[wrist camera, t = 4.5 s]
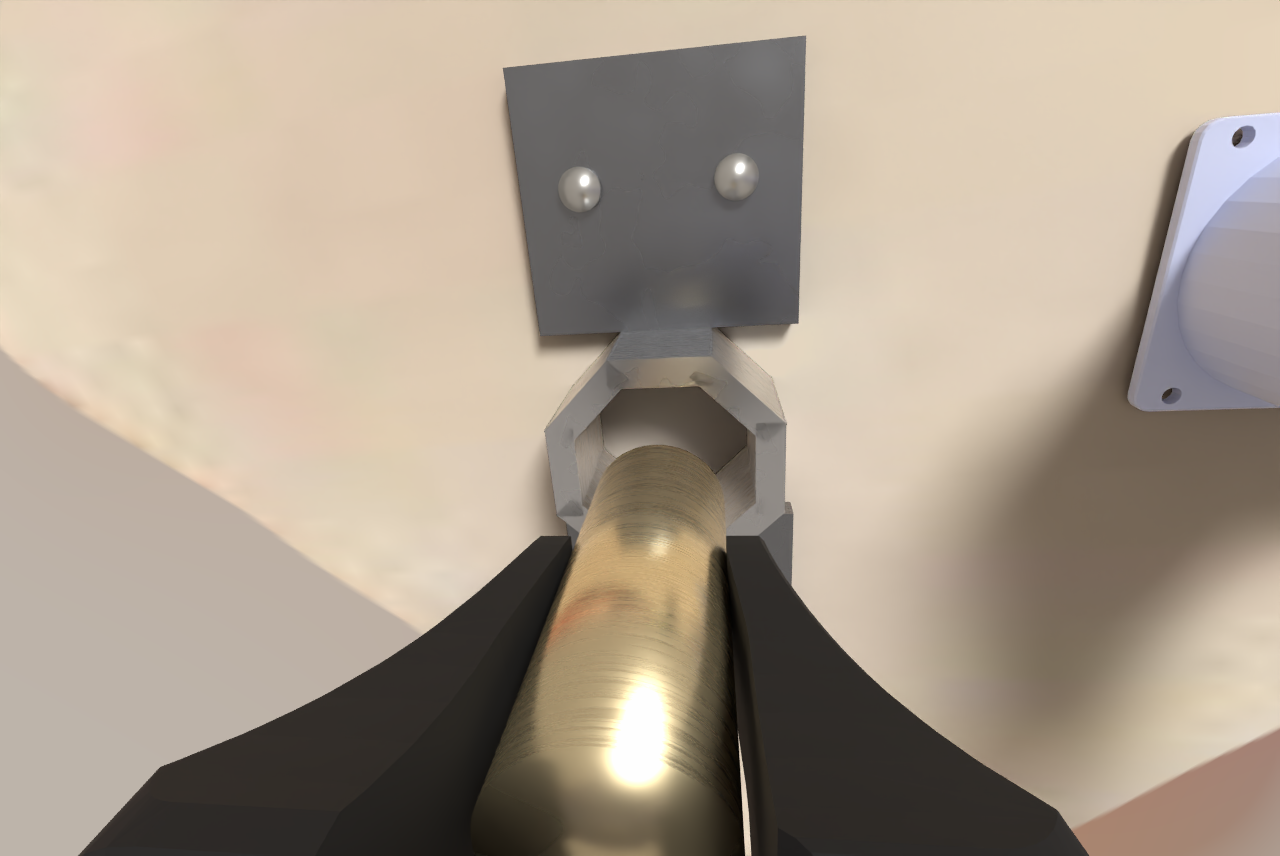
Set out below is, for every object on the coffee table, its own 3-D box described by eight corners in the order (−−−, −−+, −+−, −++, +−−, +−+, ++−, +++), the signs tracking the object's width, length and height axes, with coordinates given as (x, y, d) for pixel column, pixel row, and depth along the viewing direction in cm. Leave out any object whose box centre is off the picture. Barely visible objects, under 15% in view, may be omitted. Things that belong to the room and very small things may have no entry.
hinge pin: (729, 449, 13) (759, 767, 6) (719, 564, 14) (733, 958, 7) (596, 440, 14) (460, 735, 6) (595, 554, 15) (479, 923, 7)
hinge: (512, 72, 17) (457, 43, 13) (801, 42, 16) (830, 1, 12) (590, 659, 25) (570, 742, 21) (786, 663, 24) (800, 751, 20)
